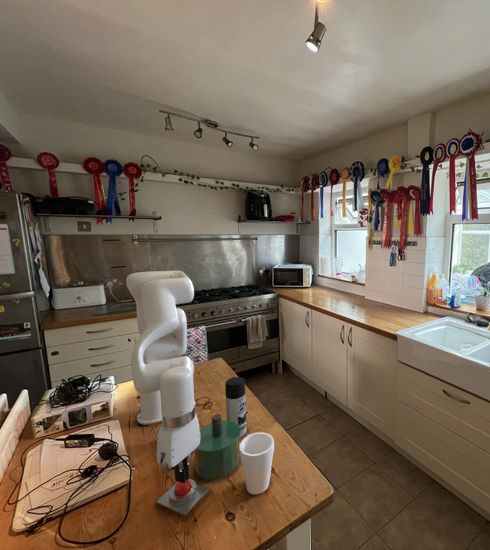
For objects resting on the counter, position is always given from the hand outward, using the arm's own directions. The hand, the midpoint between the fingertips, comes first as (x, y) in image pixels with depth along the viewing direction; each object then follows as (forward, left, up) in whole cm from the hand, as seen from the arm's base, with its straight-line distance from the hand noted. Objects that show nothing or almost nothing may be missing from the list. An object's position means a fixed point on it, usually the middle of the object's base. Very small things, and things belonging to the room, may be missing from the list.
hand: (182, 479), depth 77 cm
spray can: (-4, +27, -6) cm, 28 cm away
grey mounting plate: (0, 0, -6) cm, 6 cm away
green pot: (0, +13, -6) cm, 14 cm away
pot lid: (0, +13, +3) cm, 14 cm away
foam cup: (+16, +11, -6) cm, 20 cm away
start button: (0, 0, -3) cm, 3 cm away
